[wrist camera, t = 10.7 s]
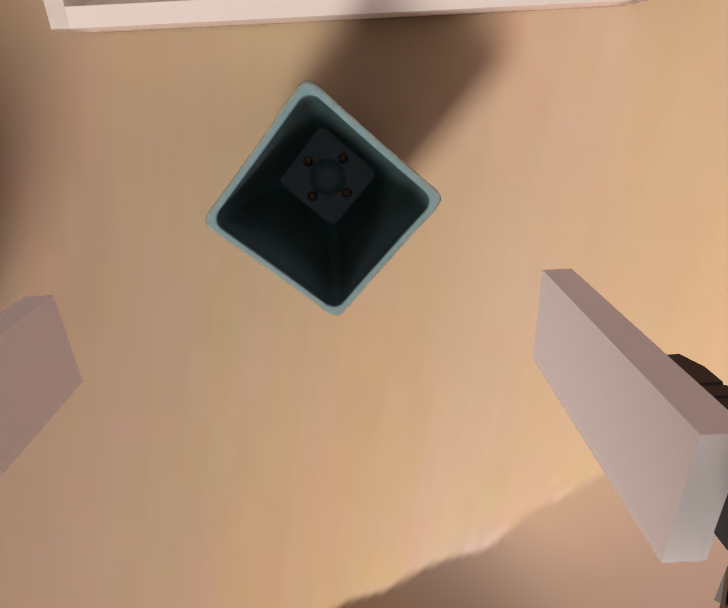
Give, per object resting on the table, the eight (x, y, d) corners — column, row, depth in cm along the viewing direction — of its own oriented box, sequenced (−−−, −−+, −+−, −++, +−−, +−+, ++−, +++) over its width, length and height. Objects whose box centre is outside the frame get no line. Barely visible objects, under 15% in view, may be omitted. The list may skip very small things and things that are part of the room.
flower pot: (422, 167, 33) (446, 199, 25) (339, 263, 36) (336, 321, 28) (317, 73, 30) (305, 74, 22) (236, 185, 33) (200, 222, 25)
